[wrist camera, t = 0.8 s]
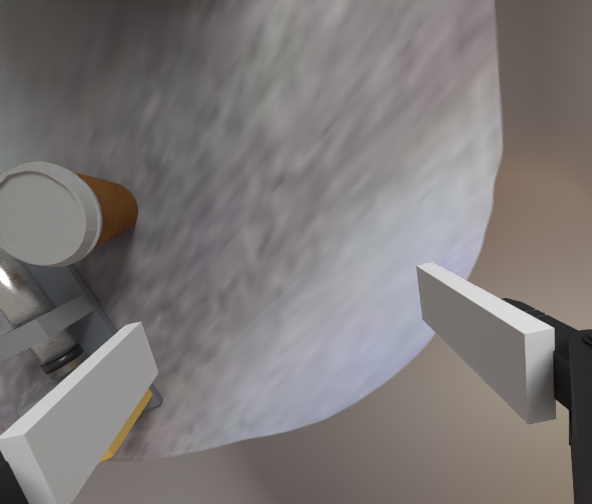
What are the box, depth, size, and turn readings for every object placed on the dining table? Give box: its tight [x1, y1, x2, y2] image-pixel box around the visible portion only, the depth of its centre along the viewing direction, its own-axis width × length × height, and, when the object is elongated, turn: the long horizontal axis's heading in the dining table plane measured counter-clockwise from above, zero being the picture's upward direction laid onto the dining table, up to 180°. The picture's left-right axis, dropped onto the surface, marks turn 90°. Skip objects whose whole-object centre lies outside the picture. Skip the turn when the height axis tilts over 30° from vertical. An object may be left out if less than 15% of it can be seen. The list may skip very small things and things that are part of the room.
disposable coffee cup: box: [0, 161, 138, 267], centre depth 32 cm, size 10×10×12 cm
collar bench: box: [0, 259, 163, 463], centre depth 36 cm, size 28×9×11 cm, turn 26°
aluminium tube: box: [0, 246, 87, 380], centre depth 36 cm, size 22×4×4 cm, turn 26°
